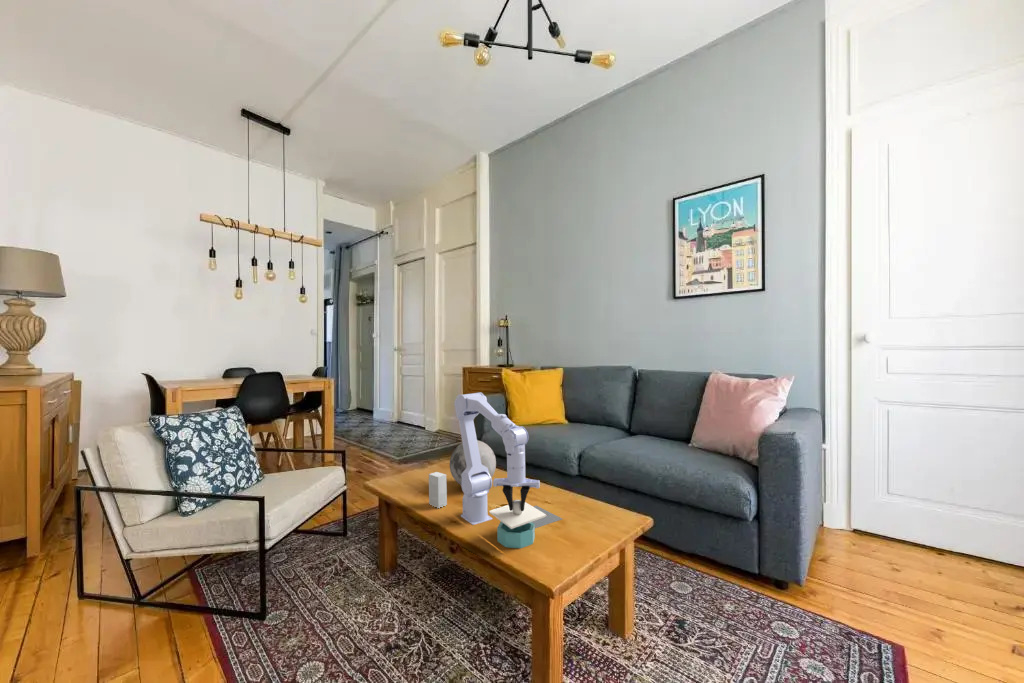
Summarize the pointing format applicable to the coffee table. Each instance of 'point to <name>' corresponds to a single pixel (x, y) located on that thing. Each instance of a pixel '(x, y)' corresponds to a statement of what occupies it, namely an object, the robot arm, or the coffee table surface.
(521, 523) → the lid
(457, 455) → the moon model
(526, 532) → the bowl
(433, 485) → the skincare box
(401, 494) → the coffee table surface
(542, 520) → the mat
